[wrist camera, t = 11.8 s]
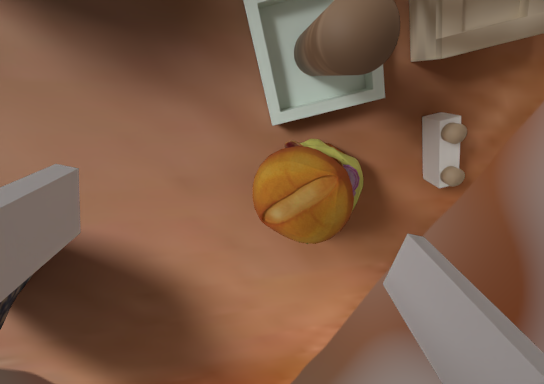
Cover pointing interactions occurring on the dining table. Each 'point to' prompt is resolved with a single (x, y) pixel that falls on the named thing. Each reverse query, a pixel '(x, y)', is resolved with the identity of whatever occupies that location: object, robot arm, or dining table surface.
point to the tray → (285, 73)
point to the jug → (9, 302)
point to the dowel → (349, 38)
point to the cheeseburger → (307, 190)
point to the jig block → (470, 25)
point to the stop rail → (442, 149)
